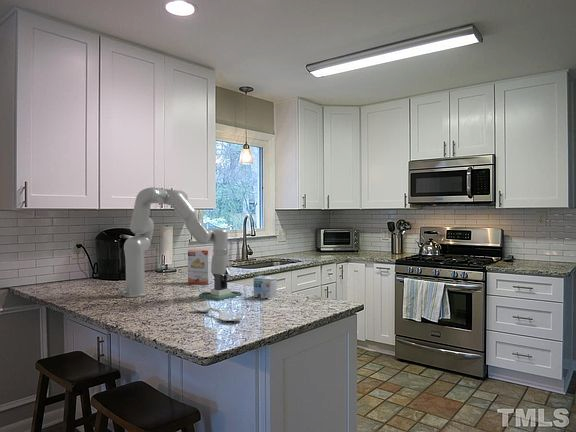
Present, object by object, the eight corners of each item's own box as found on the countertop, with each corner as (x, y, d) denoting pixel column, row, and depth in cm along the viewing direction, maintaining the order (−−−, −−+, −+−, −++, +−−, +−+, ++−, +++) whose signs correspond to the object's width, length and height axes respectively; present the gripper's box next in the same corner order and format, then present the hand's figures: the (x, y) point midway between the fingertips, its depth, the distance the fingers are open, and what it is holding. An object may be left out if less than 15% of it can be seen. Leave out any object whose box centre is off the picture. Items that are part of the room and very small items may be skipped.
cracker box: (187, 283, 267) (187, 249, 267) (192, 281, 273) (192, 248, 273) (208, 284, 263) (207, 250, 263) (212, 283, 269) (212, 249, 269)
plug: (219, 291, 228) (219, 274, 227) (214, 290, 230) (214, 273, 230) (228, 289, 233) (228, 272, 232) (223, 288, 235) (223, 272, 235)
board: (219, 301, 220) (219, 293, 220) (199, 296, 230) (199, 289, 230) (242, 295, 232) (242, 288, 232) (222, 291, 242) (221, 284, 242)
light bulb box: (253, 297, 228) (253, 277, 228) (259, 295, 234) (259, 275, 234) (270, 299, 223) (270, 278, 223) (277, 297, 229) (277, 276, 229)
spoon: (205, 308, 206) (205, 301, 205) (247, 322, 182) (247, 314, 182) (189, 311, 199) (188, 304, 199) (229, 326, 176) (229, 318, 176)
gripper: (204, 252, 233) (205, 286, 233) (226, 254, 222) (226, 290, 223) (215, 251, 239) (215, 284, 239) (236, 253, 228) (237, 288, 228)
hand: (220, 286), depth 231 cm, fingers closed on plug, 4 cm apart
